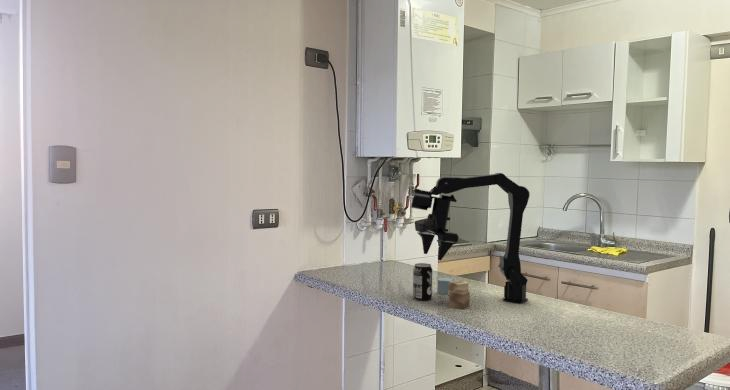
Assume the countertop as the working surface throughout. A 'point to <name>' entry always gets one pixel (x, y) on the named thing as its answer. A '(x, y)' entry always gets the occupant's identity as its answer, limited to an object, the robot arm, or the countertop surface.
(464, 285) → the oak block
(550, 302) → the countertop surface
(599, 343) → the countertop surface
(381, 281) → the countertop surface
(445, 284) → the slate block
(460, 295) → the walnut block
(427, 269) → the beverage can
